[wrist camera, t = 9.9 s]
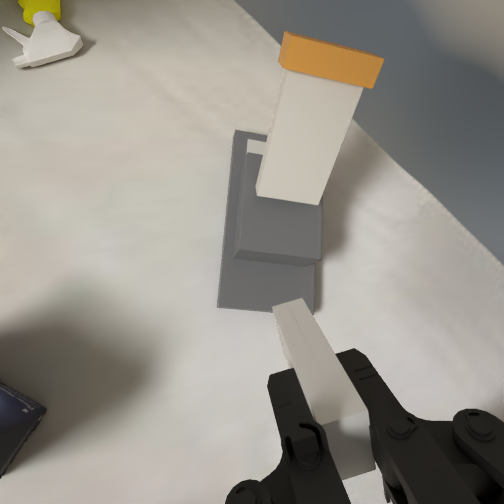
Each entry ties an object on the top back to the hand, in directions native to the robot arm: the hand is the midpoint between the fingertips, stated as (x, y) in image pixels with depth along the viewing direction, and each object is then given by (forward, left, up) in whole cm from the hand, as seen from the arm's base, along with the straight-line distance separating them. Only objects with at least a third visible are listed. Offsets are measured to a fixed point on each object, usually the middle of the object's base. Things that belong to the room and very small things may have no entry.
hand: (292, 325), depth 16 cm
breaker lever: (-10, +8, -13) cm, 18 cm away
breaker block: (-10, +8, -19) cm, 23 cm away
